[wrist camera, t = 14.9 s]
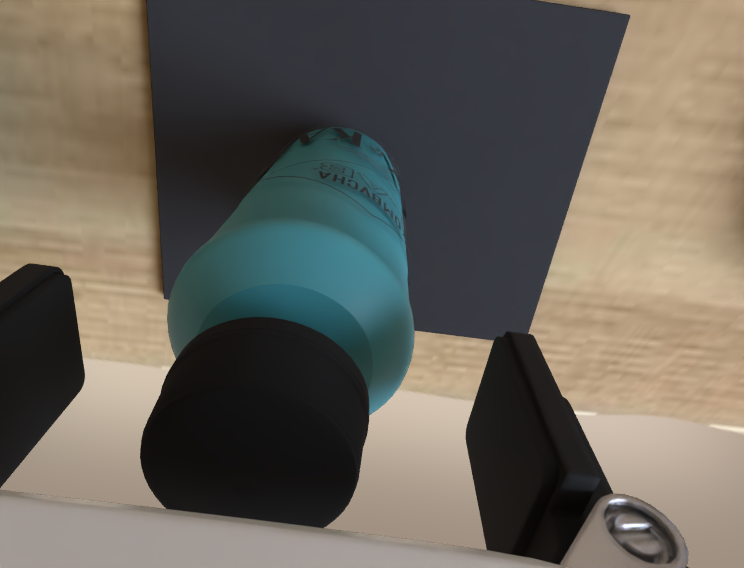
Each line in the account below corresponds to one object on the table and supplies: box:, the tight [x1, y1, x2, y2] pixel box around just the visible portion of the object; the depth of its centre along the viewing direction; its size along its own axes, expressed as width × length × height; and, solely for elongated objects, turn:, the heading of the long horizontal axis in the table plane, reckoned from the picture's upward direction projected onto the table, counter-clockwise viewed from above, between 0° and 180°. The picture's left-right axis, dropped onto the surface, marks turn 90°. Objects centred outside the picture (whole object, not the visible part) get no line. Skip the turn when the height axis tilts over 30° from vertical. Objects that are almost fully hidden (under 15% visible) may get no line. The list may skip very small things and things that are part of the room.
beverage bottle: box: [140, 125, 414, 528], centre depth 17 cm, size 6×7×20 cm
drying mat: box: [146, 0, 630, 340], centre depth 27 cm, size 18×22×1 cm
